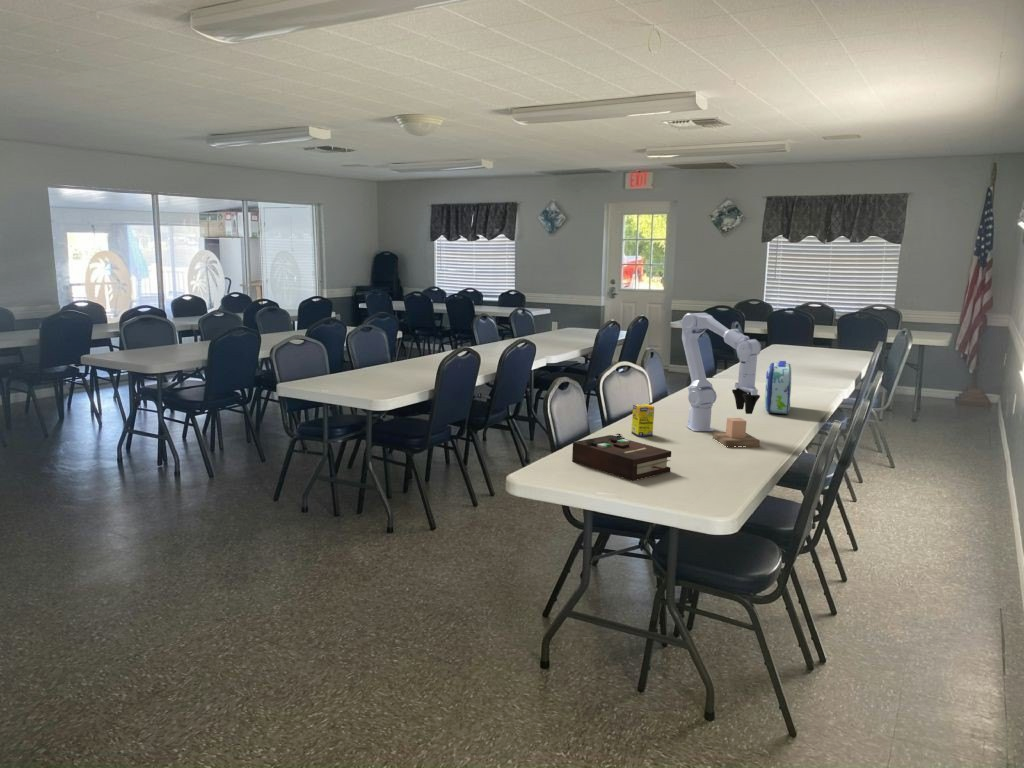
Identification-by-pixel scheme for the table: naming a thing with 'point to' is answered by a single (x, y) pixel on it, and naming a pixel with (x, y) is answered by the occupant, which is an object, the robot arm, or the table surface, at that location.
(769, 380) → the lunch box
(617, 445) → the decorative book
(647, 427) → the supplement box
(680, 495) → the table surface
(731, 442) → the walnut block
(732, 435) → the terracotta block
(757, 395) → the robot arm
